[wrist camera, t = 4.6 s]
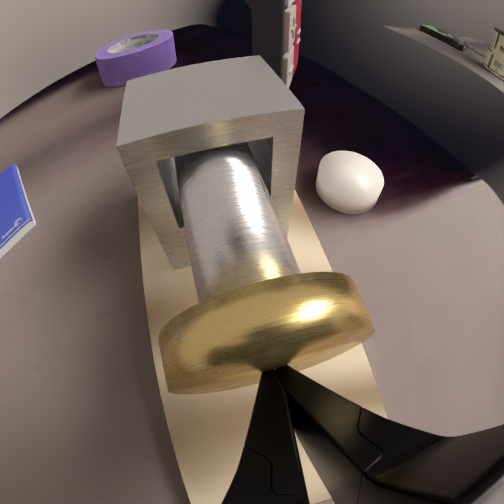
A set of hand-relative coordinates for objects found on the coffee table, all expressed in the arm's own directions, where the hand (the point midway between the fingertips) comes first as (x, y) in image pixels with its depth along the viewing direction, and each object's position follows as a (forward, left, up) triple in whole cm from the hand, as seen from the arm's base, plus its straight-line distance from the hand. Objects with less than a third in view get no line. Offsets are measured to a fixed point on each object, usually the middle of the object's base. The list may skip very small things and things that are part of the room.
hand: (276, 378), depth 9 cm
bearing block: (+5, +10, -6) cm, 13 cm away
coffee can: (+95, +7, -7) cm, 95 cm away
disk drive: (+98, +27, -8) cm, 102 cm away
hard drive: (-12, +28, -8) cm, 31 cm away
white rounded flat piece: (+14, +7, -7) cm, 17 cm away
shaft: (+4, +8, -3) cm, 10 cm away
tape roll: (+13, +43, -7) cm, 45 cm away
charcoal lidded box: (+23, +24, -7) cm, 34 cm away
